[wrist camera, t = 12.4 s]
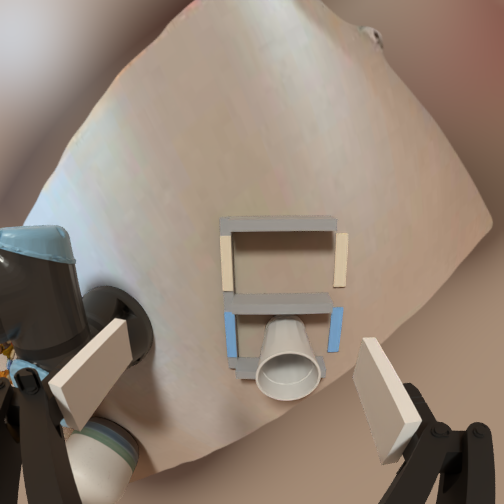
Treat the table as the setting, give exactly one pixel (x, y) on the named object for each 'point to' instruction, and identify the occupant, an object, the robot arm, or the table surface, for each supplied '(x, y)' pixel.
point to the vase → (101, 460)
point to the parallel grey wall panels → (277, 302)
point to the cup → (287, 360)
